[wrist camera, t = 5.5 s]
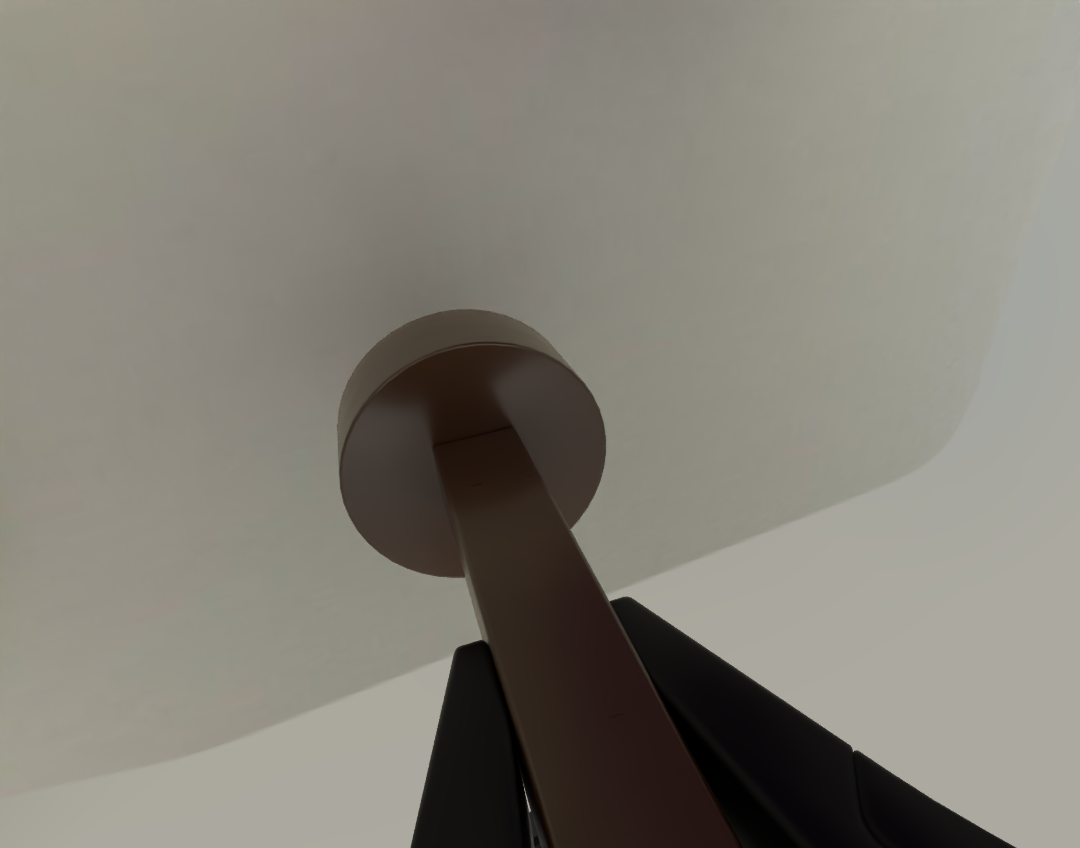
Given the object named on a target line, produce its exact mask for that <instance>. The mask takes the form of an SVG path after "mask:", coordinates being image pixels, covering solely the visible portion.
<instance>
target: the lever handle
mask: <svg viewBox="0 0 1080 848" xmlns="http://www.w3.org/2000/svg"><path fill="white" fill-rule="evenodd" d="M337 431H338V456H339V478H340V489H341V494H342V498H343V502H344V505H345V508H346V510H347V512H348V515H349V517H350V519H351V521H352V522H353V524H354V526H355V527H356V529H357V531H358V532H359V533H360V534H361V535H362V536H363V538H364V539H365V540H366V541H367V542H368V543H369V544H370V545H371V546H372V547H373V548H374V549H376V550H377V551H378V552H379V553H380V554H382V555H383V556H385V557H386V558H388V559H389V560H391V561H392V562H394V563H397V564H399V565H401V566H403V567H405V568H407V569H410V570H413V571H416V572H419V573H423V574H428V575H433V576H439V577H450V578H461V577H465V579H466V582H467V586H468V589H469V593H470V596H471V600H472V603H473V607H474V610H475V614H476V617H477V621H478V625H479V628H480V632H481V635H482V639H483V640H484V641H485V642H487V645H488V647H489V651H490V654H491V657H492V661H493V664H494V667H495V670H496V674H497V677H498V680H499V683H500V687H501V690H502V693H503V697H504V700H505V703H506V707H507V711H508V715H509V719H510V724H511V729H512V734H513V738H514V743H515V748H516V753H517V757H518V762H519V767H520V772H521V776H522V780H523V784H524V788H525V791H526V795H527V798H528V802H529V805H530V809H531V812H532V816H533V819H534V823H535V826H536V830H537V834H538V837H539V841H540V844H541V848H743V846H742V844H741V842H740V841H739V839H738V837H737V835H736V833H735V831H734V830H733V828H732V826H731V824H730V822H729V820H728V819H727V817H726V815H725V813H724V811H723V809H722V808H721V806H720V804H719V802H718V800H717V798H716V797H715V795H714V793H713V791H712V789H711V787H710V786H709V784H708V782H707V780H706V778H705V776H704V774H703V773H702V771H701V769H700V767H699V765H698V763H697V762H696V760H695V758H694V756H693V754H692V752H691V751H690V749H689V747H688V745H687V743H686V741H685V740H684V738H683V736H682V734H681V732H680V730H679V729H678V727H677V725H676V723H675V721H674V719H673V718H672V716H671V714H670V712H669V710H668V708H667V706H666V705H665V703H664V701H663V699H662V697H661V695H660V694H659V692H658V690H657V689H656V687H655V685H654V683H653V681H652V680H651V678H650V676H649V674H648V672H647V670H646V668H645V666H644V665H643V663H642V661H641V659H640V657H639V655H638V653H637V651H636V650H635V648H634V646H633V644H632V642H631V640H630V638H629V637H628V635H627V633H626V631H625V629H624V627H623V626H622V624H621V622H620V620H619V618H618V616H617V615H616V613H615V611H614V609H613V607H612V605H611V604H610V602H609V600H608V598H607V596H606V594H605V593H604V591H603V589H602V587H601V585H600V583H599V581H598V580H597V578H596V576H595V574H594V572H593V570H592V569H591V567H590V565H589V563H588V561H587V559H586V558H585V556H584V554H583V552H582V550H581V548H580V547H579V545H578V543H577V541H576V539H575V537H574V536H573V534H572V532H571V530H570V529H571V528H572V527H573V526H574V525H575V524H576V523H577V521H578V520H579V519H580V517H581V516H582V515H583V513H584V512H585V511H586V509H587V508H588V506H589V504H590V502H591V500H592V499H593V497H594V495H595V493H596V490H597V488H598V485H599V483H600V480H601V476H602V473H603V469H604V463H605V456H606V435H605V428H604V422H603V419H602V416H601V413H600V409H599V407H598V405H597V403H596V401H595V399H594V397H593V395H592V393H591V392H590V391H589V389H588V388H587V386H586V385H585V383H584V382H583V381H582V380H581V379H580V377H579V376H578V375H577V374H576V373H575V372H574V370H573V369H572V368H571V367H570V366H569V365H568V363H567V362H566V361H565V360H564V359H563V357H562V356H561V355H560V354H559V353H558V352H557V350H556V349H555V348H554V347H553V346H552V345H551V344H550V343H549V342H548V341H547V340H546V339H545V338H544V337H543V336H542V335H540V334H539V333H538V332H537V331H535V330H534V329H533V328H531V327H529V326H527V325H526V324H524V323H522V322H521V321H518V320H516V319H513V318H511V317H508V316H506V315H502V314H498V313H494V312H490V311H482V310H451V311H444V312H438V313H435V314H431V315H427V316H424V317H421V318H419V319H416V320H414V321H411V322H409V323H407V324H405V325H403V326H402V327H400V328H398V329H396V330H394V331H393V332H391V333H390V334H389V335H387V336H386V337H385V338H383V339H382V340H381V341H379V342H378V343H377V344H376V345H375V346H374V347H373V348H372V349H371V350H370V351H369V352H368V353H367V354H366V355H365V356H364V358H363V359H362V360H361V362H360V363H359V364H358V365H357V367H356V368H355V370H354V372H353V373H352V375H351V377H350V379H349V380H348V383H347V385H346V388H345V390H344V393H343V395H342V399H341V403H340V407H339V412H338V424H337Z"/></svg>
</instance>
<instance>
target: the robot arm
mask: <svg viewBox="0 0 1080 848" xmlns="http://www.w3.org/2000/svg"><path fill="white" fill-rule="evenodd" d="M609 602H610V604H611V605H612V607H613V609H614V611H615V613H616V615H617V616H618V618H619V620H620V622H621V624H622V626H623V627H624V629H625V631H626V633H627V635H628V637H629V638H630V640H631V642H632V644H633V646H634V648H635V650H636V651H637V653H638V655H639V657H640V659H641V661H642V663H643V665H644V666H645V668H646V670H647V672H648V674H649V676H650V678H651V680H652V681H653V683H654V685H655V687H656V689H657V690H658V692H659V694H660V695H661V697H662V699H663V701H664V703H665V705H666V706H667V708H668V710H669V712H670V714H671V716H672V718H673V719H674V721H675V723H676V725H677V727H678V729H679V730H680V732H681V734H682V736H683V738H684V740H685V741H686V743H687V745H688V747H689V749H690V751H691V752H692V754H693V756H694V758H695V760H696V762H697V763H698V765H699V767H700V769H701V771H702V773H703V774H704V776H705V778H706V780H707V782H708V784H709V786H710V787H711V789H712V791H713V793H714V795H715V797H716V798H717V800H718V802H719V804H720V806H721V808H722V809H723V811H724V813H725V815H726V817H727V819H728V820H729V822H730V824H731V826H732V828H733V830H734V831H735V833H736V835H737V837H738V839H739V841H740V842H741V844H742V846H743V848H1016V847H1014V846H1012V845H1010V844H1009V843H1007V842H1005V841H1003V840H1002V839H1000V838H998V837H996V836H994V835H993V834H991V833H989V832H987V831H986V830H984V829H982V828H980V827H979V826H977V825H975V824H974V823H972V822H970V821H969V820H967V819H965V818H963V817H962V816H960V815H958V814H957V813H955V812H953V811H951V810H950V809H948V808H946V807H945V806H943V805H941V804H940V803H938V802H936V801H934V800H933V799H931V798H929V797H928V796H927V795H925V794H924V793H922V792H920V791H919V790H917V789H916V788H914V787H913V786H911V785H910V784H908V783H906V782H905V781H903V780H902V779H900V778H899V777H897V776H895V775H894V774H892V773H891V772H889V771H888V770H886V769H885V768H883V767H882V766H880V765H879V764H877V763H876V762H874V761H873V760H871V759H870V758H868V757H867V756H865V755H864V754H863V753H861V752H859V751H854V752H853V750H852V747H851V746H850V745H849V744H847V743H846V742H844V741H843V740H841V739H840V738H838V737H837V736H835V735H834V734H832V733H831V732H829V731H828V730H827V729H825V728H823V727H822V726H820V725H819V724H818V723H816V722H815V721H813V720H812V719H810V718H808V717H807V716H806V715H804V714H803V713H801V712H800V711H798V710H797V709H795V708H794V707H792V706H791V705H789V704H788V703H786V702H785V701H784V700H782V699H780V698H779V697H778V696H776V695H774V694H773V693H772V692H770V691H769V690H767V689H766V688H764V687H763V686H761V685H760V684H758V683H757V682H755V681H754V680H752V679H751V678H749V677H748V676H746V675H745V674H744V673H742V672H740V671H739V670H737V669H736V668H735V667H733V666H732V665H730V664H729V663H727V662H726V661H724V660H723V659H721V658H720V657H718V656H717V655H715V654H714V653H712V652H711V651H709V650H708V649H706V648H705V647H703V646H702V645H701V644H699V643H698V642H696V641H695V640H693V639H692V638H690V637H689V636H687V635H686V634H684V633H683V632H681V631H680V630H678V629H677V628H675V627H674V626H672V625H671V624H669V623H668V622H666V621H665V620H663V619H662V618H661V617H659V616H658V615H656V614H654V613H653V612H651V611H650V610H649V609H647V608H645V607H644V606H643V605H641V604H640V603H638V602H637V601H635V600H634V599H632V598H630V597H622V598H618V599H615V600H612V601H609ZM411 848H541V844H540V841H539V837H538V836H536V837H534V838H533V833H532V827H531V821H530V815H529V810H528V805H527V800H526V796H525V791H524V786H523V781H522V776H521V772H520V767H519V762H518V757H517V753H516V748H515V743H514V738H513V734H512V729H511V724H510V719H509V715H508V711H507V707H506V703H505V700H504V697H503V693H502V690H501V687H500V683H499V680H498V677H497V674H496V670H495V667H494V664H493V661H492V657H491V654H490V651H489V647H488V645H487V642H485V641H484V640H480V641H476V642H473V643H470V644H466V645H463V646H460V647H458V648H457V649H456V650H455V653H454V656H453V661H452V665H451V670H450V674H449V679H448V683H447V687H446V692H445V696H444V701H443V705H442V710H441V714H440V719H439V723H438V728H437V732H436V736H435V741H434V746H433V750H432V754H431V759H430V763H429V768H428V772H427V777H426V781H425V786H424V790H423V795H422V799H421V804H420V808H419V812H418V817H417V821H416V826H415V830H414V835H413V840H412V844H411Z"/></svg>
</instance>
